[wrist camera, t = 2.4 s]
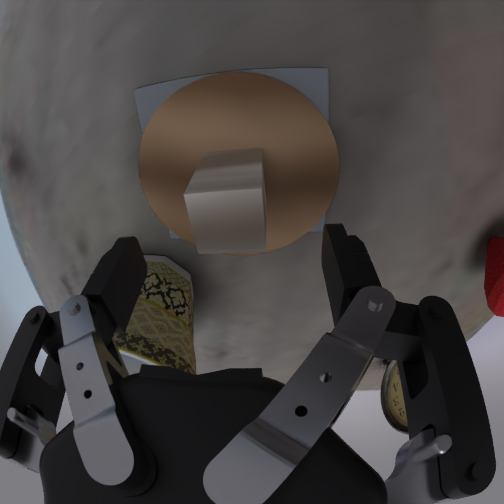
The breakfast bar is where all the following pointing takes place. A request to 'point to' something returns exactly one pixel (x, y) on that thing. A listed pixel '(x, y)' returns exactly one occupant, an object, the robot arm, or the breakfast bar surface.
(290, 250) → the breakfast bar surface
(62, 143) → the breakfast bar surface
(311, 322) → the breakfast bar surface
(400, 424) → the alarm clock
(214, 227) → the lid
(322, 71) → the mat
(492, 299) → the strawberry
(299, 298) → the breakfast bar surface
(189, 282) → the ceramic cup
